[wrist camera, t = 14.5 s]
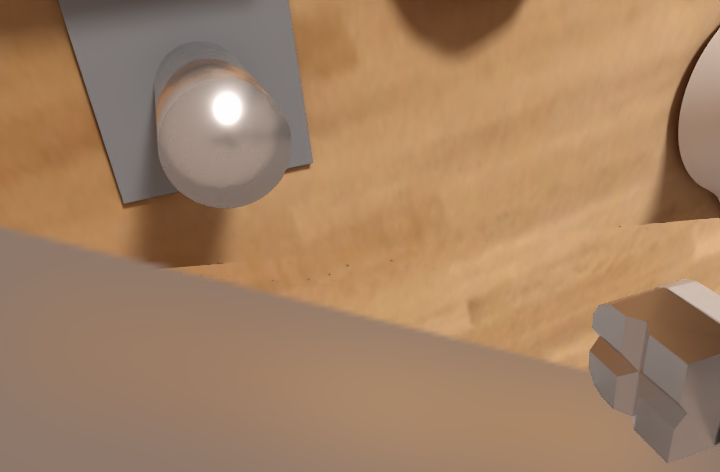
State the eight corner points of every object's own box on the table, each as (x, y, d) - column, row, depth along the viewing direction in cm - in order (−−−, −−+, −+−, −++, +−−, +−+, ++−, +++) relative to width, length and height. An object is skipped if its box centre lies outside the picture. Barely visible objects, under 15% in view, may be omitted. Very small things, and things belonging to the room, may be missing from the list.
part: (239, 34, 28) (279, 69, 19) (256, 125, 30) (300, 192, 21) (142, 50, 27) (141, 94, 18) (167, 142, 29) (176, 220, 20)
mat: (280, -38, 28) (282, -38, 27) (311, 160, 32) (312, 162, 32) (56, -9, 25) (55, -8, 25) (124, 200, 30) (123, 203, 29)
